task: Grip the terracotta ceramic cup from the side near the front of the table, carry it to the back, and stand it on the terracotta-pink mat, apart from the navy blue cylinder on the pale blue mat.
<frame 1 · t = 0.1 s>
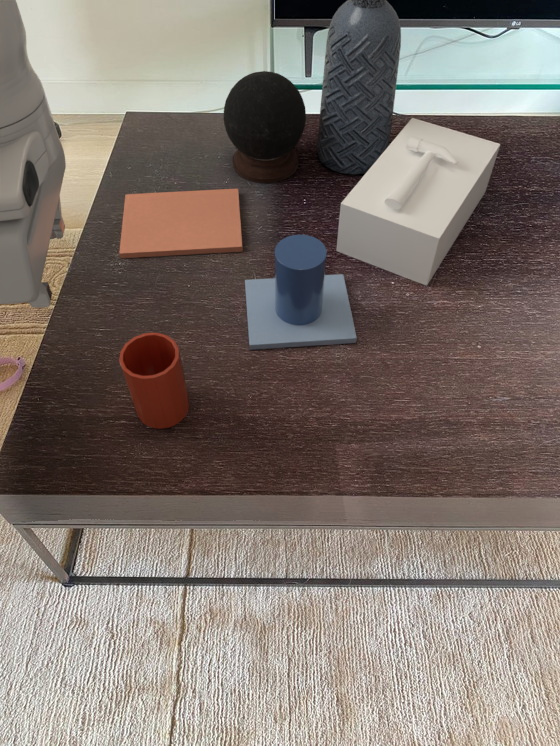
hand: (49, 266, 60), 21 cm above the table, tool pointing down, fingers open, 8 cm apart
navy blue cylinder: (298, 307, 84), point 1 cm above the table, touching blue mat
black ball on stand: (265, 164, 106), on the table
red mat: (182, 224, 96), on the table
terracotta cup: (163, 406, 75), on the table
blue mat: (298, 312, 85), on the table
hammer relief block: (413, 221, 97), on the table
vase: (351, 156, 107), on the table
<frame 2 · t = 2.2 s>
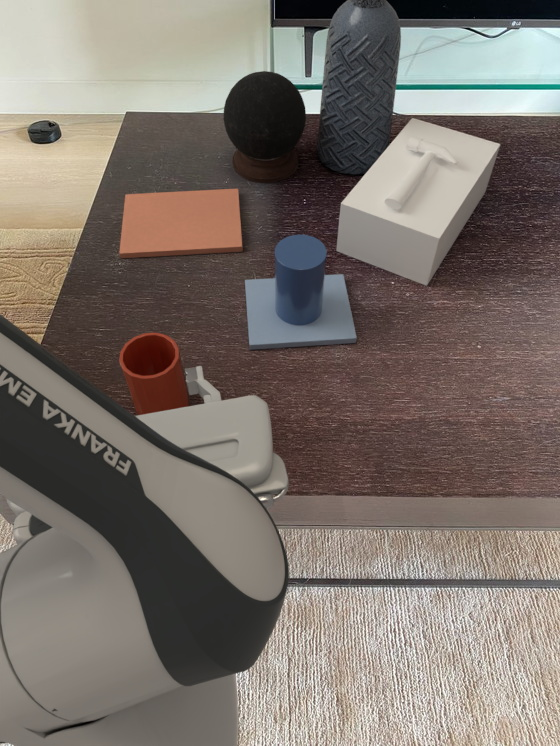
hand: (138, 380, 52), 20 cm above the table, tool horizontal, fingers open, 8 cm apart
nothing on the table moved.
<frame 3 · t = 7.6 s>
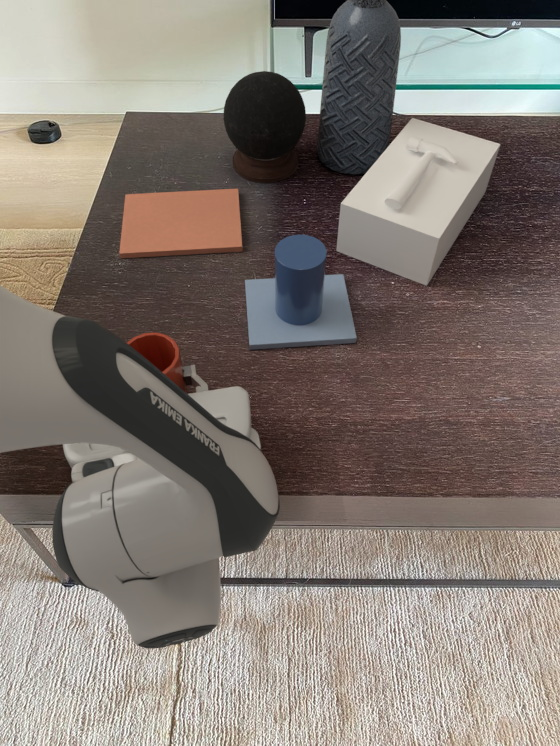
hand: (154, 373, 71), 6 cm above the table, tool horizontal, fingers closed on terracotta cup, 6 cm apart
terracotta cup: (163, 406, 75), on the table, touching gripper
everything else where it was.
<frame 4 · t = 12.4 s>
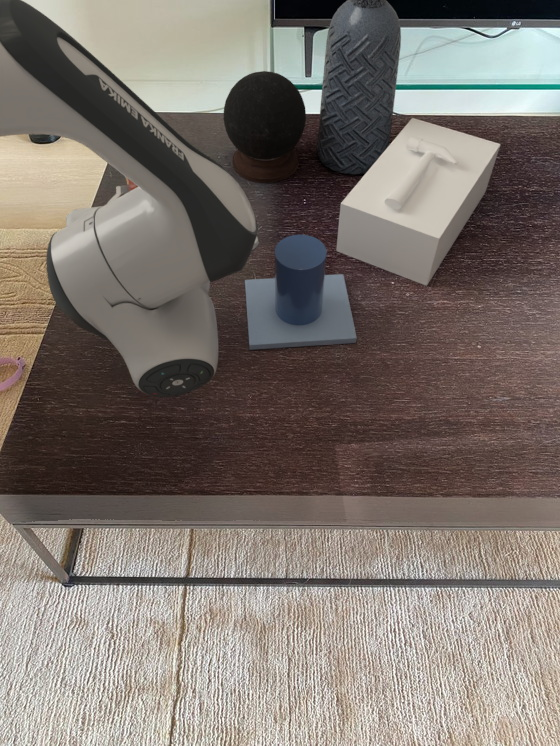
hand: (156, 186, 74), 17 cm above the table, tool horizontal, fingers closed on terracotta cup, 6 cm apart
terracotta cup: (164, 228, 78), point 11 cm above the table, touching gripper
everything else where it was.
when the fingers open (6 cm above the table, at t = 17.8 s): terracotta cup stays where it is, resting on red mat.
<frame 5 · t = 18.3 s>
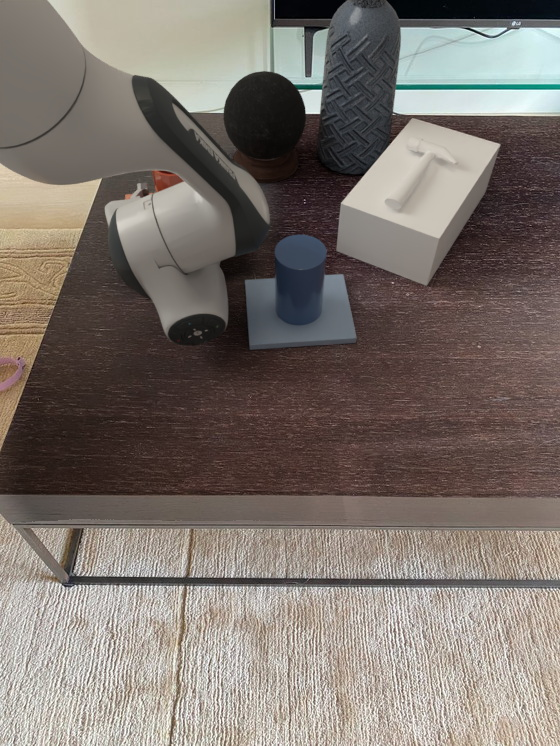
hand: (175, 183, 91), 7 cm above the table, tool horizontal, fingers open, 8 cm apart
terracotta cup: (182, 219, 95), point 1 cm above the table, touching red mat
everything else where it was.
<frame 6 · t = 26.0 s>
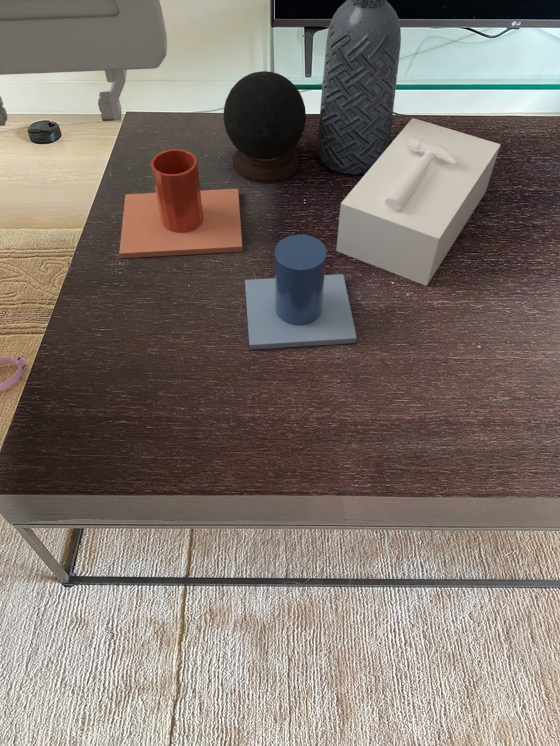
hand: (55, 120, 52), 34 cm above the table, tool pointing down, fingers open, 8 cm apart
nothing on the table moved.
at the end: terracotta cup inside the target area on the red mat (0.2 cm from its centre), point 1.0 cm above the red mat's base; terracotta cup tilted 0°; navy blue cylinder moved 0.0 cm from its start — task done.
